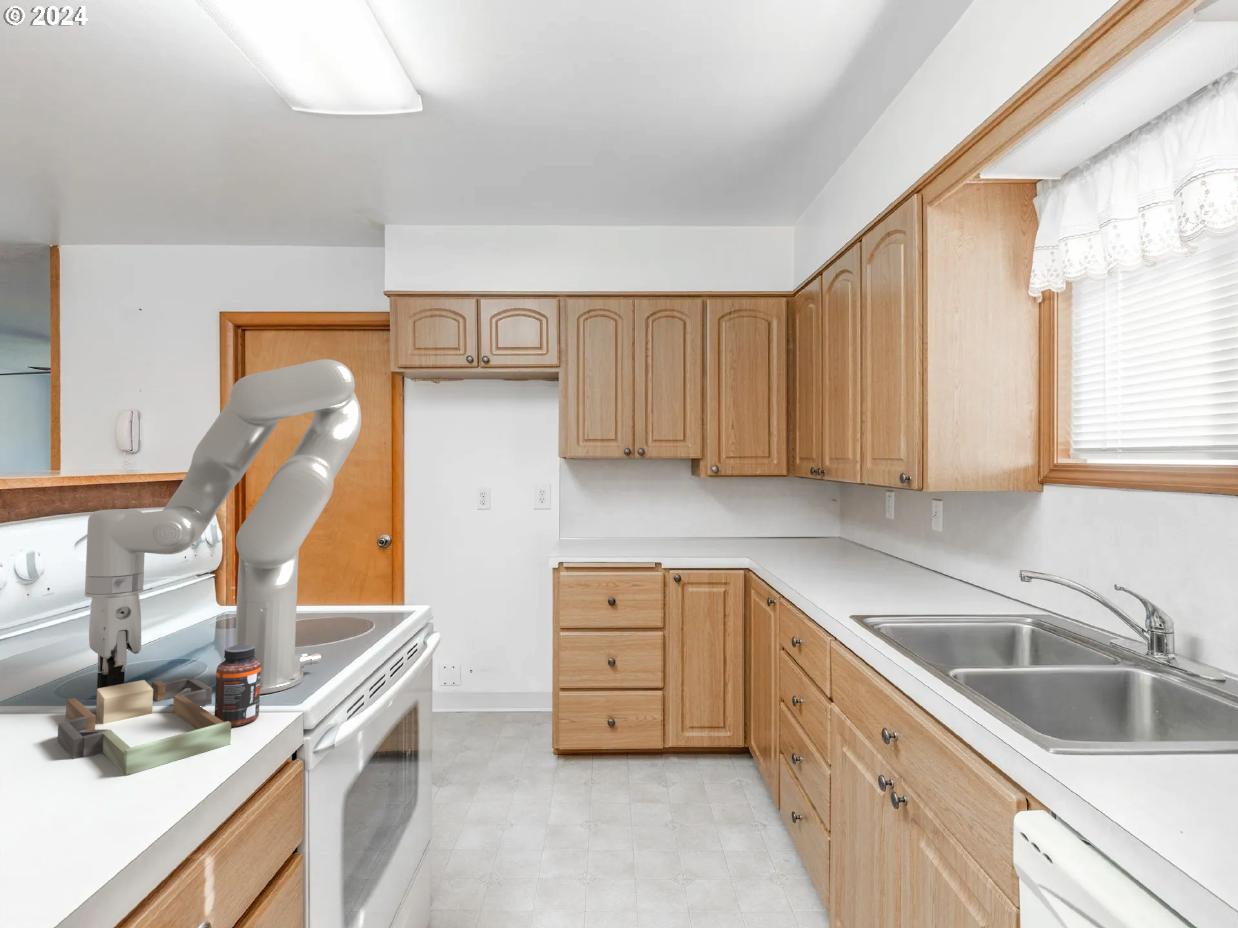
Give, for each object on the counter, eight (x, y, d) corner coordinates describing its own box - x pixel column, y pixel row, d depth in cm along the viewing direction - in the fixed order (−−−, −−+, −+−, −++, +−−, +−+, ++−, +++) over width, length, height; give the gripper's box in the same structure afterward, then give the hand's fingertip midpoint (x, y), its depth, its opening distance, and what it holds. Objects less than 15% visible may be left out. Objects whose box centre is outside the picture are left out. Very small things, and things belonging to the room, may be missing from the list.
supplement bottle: (263, 721, 96) (266, 648, 96) (219, 732, 92) (222, 655, 92) (253, 710, 100) (256, 640, 101) (210, 719, 96) (212, 646, 96)
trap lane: (187, 688, 109) (188, 671, 109) (262, 734, 92) (262, 714, 92) (39, 721, 94) (40, 701, 94) (95, 784, 76) (97, 759, 76)
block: (143, 704, 102) (144, 679, 102) (152, 714, 98) (153, 689, 98) (96, 713, 98) (97, 688, 98) (103, 725, 94) (104, 698, 94)
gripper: (157, 587, 101) (153, 701, 101) (128, 576, 110) (124, 680, 110) (99, 594, 95) (94, 714, 95) (73, 581, 104) (68, 691, 104)
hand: (110, 695), depth 102 cm, fingers closed
